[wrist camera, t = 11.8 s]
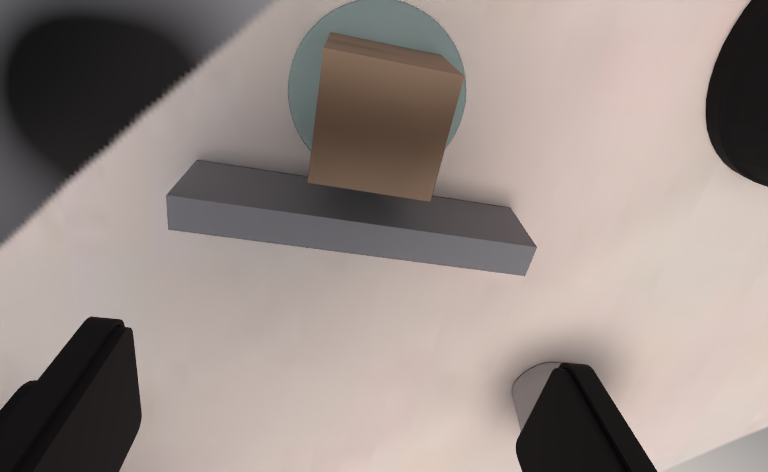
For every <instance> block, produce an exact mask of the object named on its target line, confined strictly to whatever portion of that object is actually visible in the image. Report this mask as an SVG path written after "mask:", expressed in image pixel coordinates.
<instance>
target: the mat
mask: <svg viewBox="0 0 768 472" xmlns="http://www.w3.org/2000/svg"><path fill="white" fill-rule="evenodd" d="M331 32H333V33H338V34H343V35H347V36H352V37H357V38H362V39H367V40H372V41H377V42H381V43H386V44H391V45H396V46H401V47H406V48H411V49H415V50H420V51H425V52H430V53H435V54H440V55H442V56H443V57H444V58H445V59H446V60H448V61H449V62H450V63H451V64H452V65H453V66H454V67H455V68H456V69H458V70H459V71H460V72H461V73H462V74H463V75H464V80H463V84H462V87H461V91H460V95H459V98H458V102H457V106H456V109H455V113H454V117H453V120H452V124H451V128H450V131H449V135H448V139H447V142H446V146H445V148H446V147H447V145H448V144H449V143H450V141H451V140H452V138H453V136H454V135H455V133H456V131H457V129H458V126H459V124H460V121H461V118H462V115H463V111H464V106H465V100H466V79H465V73H464V68H463V64H462V61H461V58H460V55H459V53H458V51H457V49H456V47H455V45H454V43H453V41H452V40H451V38H450V37H449V35H448V34H447V33H446V31H445V30H444V29H443V28H442V27H441V26H440V25H439V24H438V23H437V22H436V21H435V20H434V19H432V18H431V17H430V16H429V15H427V14H426V13H424V12H422V11H421V10H419V9H417V8H415V7H413V6H411V5H408V4H406V3H403V2H399V1H395V0H360V1H355V2H352V3H349V4H346V5H343V6H341V7H339V8H337V9H336V10H334V11H332V12H330V13H329V14H328V15H326V16H325V17H323V18H322V19H321V20H320V21H319V22H318V23H317V24H316V25H315V26H314V27H313V28H312V29H311V30H310V31H309V33H308V34H307V35H306V36H305V38H304V39H303V41H302V43H301V44H300V46H299V48H298V50H297V52H296V55H295V57H294V59H293V63H292V66H291V70H290V75H289V83H288V98H289V106H290V111H291V115H292V119H293V122H294V124H295V126H296V129H297V131H298V133H299V135H300V137H301V138H302V140H303V142H304V143H305V144H306V146H307V147H308V148H309V150H310V151H311V148H312V140H313V131H314V123H315V115H316V106H317V98H318V89H319V81H320V73H321V64H322V56H323V48H324V45H325V43H326V41H327V39H328V37H329V35H330V33H331Z"/></svg>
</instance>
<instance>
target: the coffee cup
mask: <svg viewBox="0 0 768 472" xmlns="http://www.w3.org/2000/svg"><path fill="white" fill-rule="evenodd" d="M560 364H561V363H555V362H554V363H544V364H540V365H537V366H535V367H533V368H531V369H529V370H528V371H526V372H525V373H523V374H522V375H521V376H520V377H519V378H518V379H517V380H516V382H515V383H514V385H513V388H512V396H513V401H514V405H515V409H516V413H517V417H518V421H519V425H520V430H521V431H522V429H523V427H524V425H525V423H526V421H527V419H528V417H529V415H530V413H531V411H532V410H533V408H534V406H535V404H536V402H537V400H538V398H539V396H540V394H541V392H542V390H543V388H544V386H545V384H546V382H547V380H548V378H549V376H550V374H551V372H552V371H553V369H555V368H558V367H559V366H560Z"/></svg>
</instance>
